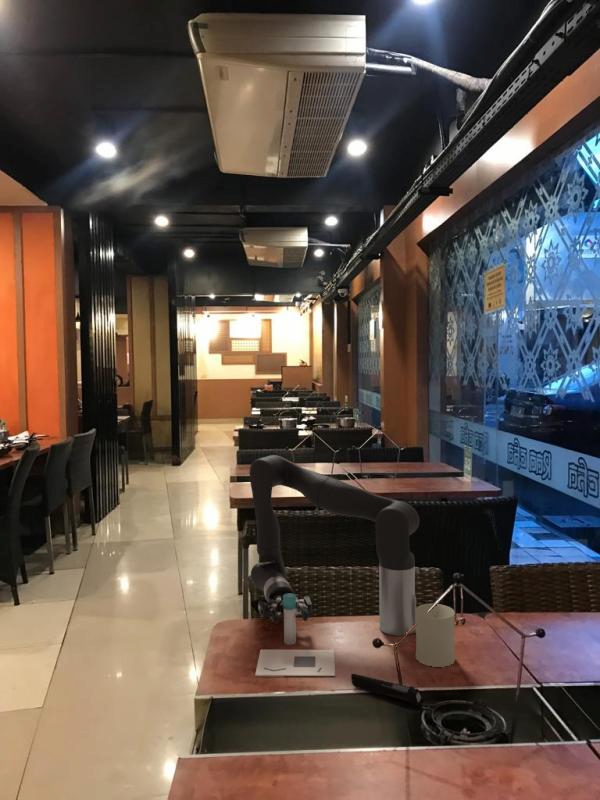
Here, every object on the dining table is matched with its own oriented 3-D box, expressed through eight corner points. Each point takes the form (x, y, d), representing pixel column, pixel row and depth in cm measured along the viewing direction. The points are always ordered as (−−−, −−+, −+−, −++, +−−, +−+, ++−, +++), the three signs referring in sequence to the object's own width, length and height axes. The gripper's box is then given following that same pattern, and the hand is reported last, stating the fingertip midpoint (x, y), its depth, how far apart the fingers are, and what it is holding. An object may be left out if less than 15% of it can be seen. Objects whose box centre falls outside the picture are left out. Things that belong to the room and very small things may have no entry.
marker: (296, 639, 154) (296, 593, 154) (296, 644, 151) (295, 598, 150) (284, 639, 154) (283, 593, 154) (283, 644, 151) (282, 598, 150)
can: (419, 668, 139) (419, 617, 138) (412, 649, 148) (411, 601, 147) (459, 667, 139) (459, 616, 138) (449, 648, 148) (449, 601, 147)
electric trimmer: (355, 682, 134) (355, 668, 134) (423, 699, 126) (423, 685, 126) (348, 690, 130) (348, 676, 130) (417, 708, 123) (417, 693, 123)
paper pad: (333, 651, 147) (333, 649, 147) (335, 676, 135) (335, 674, 135) (260, 651, 148) (260, 649, 148) (255, 676, 136) (255, 674, 136)
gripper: (252, 583, 164) (262, 606, 148) (304, 578, 168) (319, 601, 151) (253, 610, 165) (263, 636, 149) (304, 604, 168) (319, 630, 152)
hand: (291, 618), depth 150 cm, fingers open, 6 cm apart
